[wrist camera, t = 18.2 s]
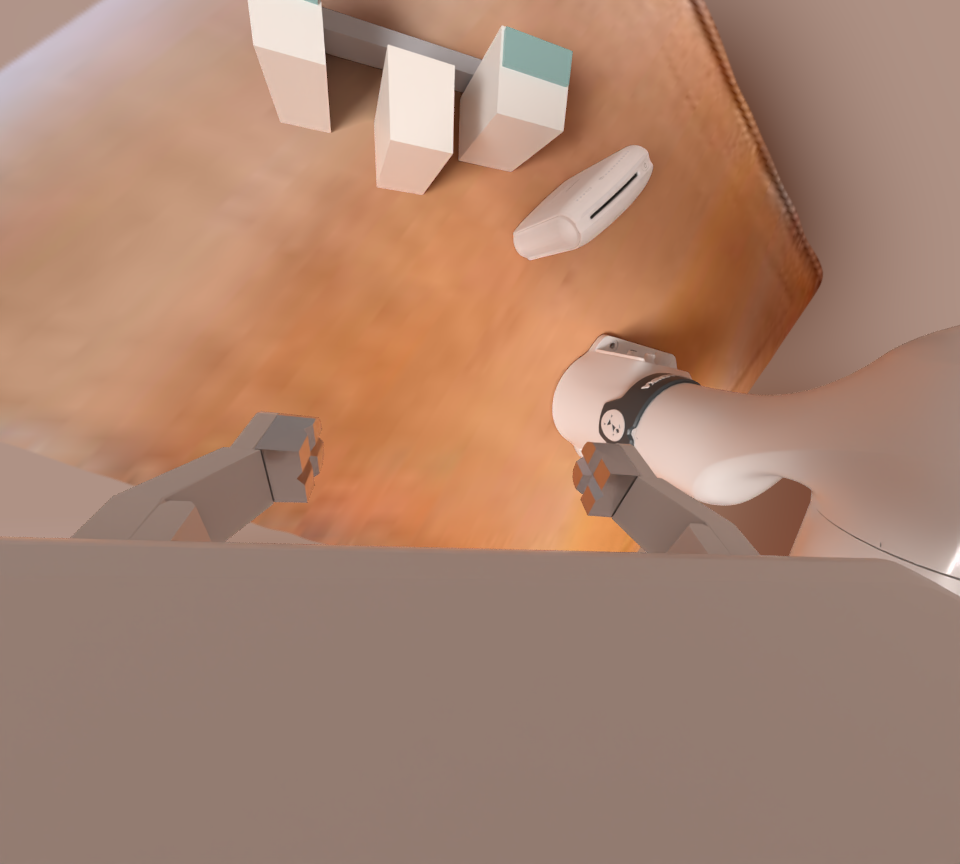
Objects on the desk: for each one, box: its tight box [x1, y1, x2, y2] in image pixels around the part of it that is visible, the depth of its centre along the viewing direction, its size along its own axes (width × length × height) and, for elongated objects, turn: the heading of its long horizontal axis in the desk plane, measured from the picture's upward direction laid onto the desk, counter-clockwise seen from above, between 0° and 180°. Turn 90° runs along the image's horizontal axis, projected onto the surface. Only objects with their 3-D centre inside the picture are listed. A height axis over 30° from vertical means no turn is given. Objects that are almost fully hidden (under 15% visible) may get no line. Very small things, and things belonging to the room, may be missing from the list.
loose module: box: [374, 45, 455, 195], centre depth 28 cm, size 4×5×11 cm
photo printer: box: [513, 145, 653, 260], centre depth 35 cm, size 10×4×12 cm, turn 130°
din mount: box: [248, 0, 573, 172], centre depth 27 cm, size 22×7×10 cm, turn 87°
